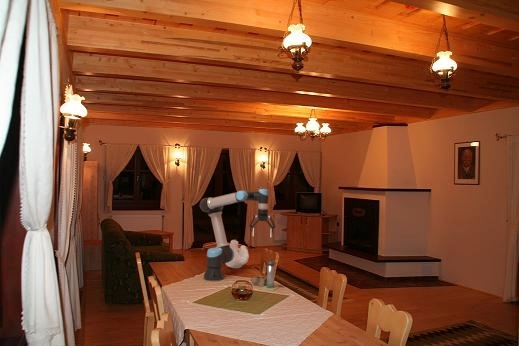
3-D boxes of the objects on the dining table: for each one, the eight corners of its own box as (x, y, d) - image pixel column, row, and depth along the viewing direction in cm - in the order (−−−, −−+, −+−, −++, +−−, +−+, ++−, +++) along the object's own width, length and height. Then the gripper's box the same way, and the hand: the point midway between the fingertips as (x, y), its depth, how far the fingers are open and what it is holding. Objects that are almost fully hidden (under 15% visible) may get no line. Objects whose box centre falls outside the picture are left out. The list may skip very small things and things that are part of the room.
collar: (251, 284, 302) (251, 277, 303) (258, 282, 312) (258, 275, 312) (264, 286, 297) (264, 279, 297) (270, 284, 307) (271, 277, 307)
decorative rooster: (221, 266, 370) (223, 239, 371) (236, 265, 379) (237, 238, 380) (236, 271, 349) (237, 242, 351) (251, 270, 358) (252, 242, 360)
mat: (260, 288, 291) (260, 287, 291) (266, 286, 300) (267, 285, 300) (273, 290, 286) (273, 289, 286) (279, 288, 295) (279, 287, 295)
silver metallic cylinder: (263, 287, 292) (264, 262, 293) (267, 285, 298) (269, 261, 299) (272, 289, 289) (273, 263, 289) (276, 287, 295) (277, 262, 295)
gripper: (279, 209, 318) (278, 236, 316) (247, 208, 319) (246, 235, 318) (279, 209, 310) (278, 237, 309) (246, 208, 312) (245, 236, 311)
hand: (261, 236), depth 313 cm, fingers open, 13 cm apart
